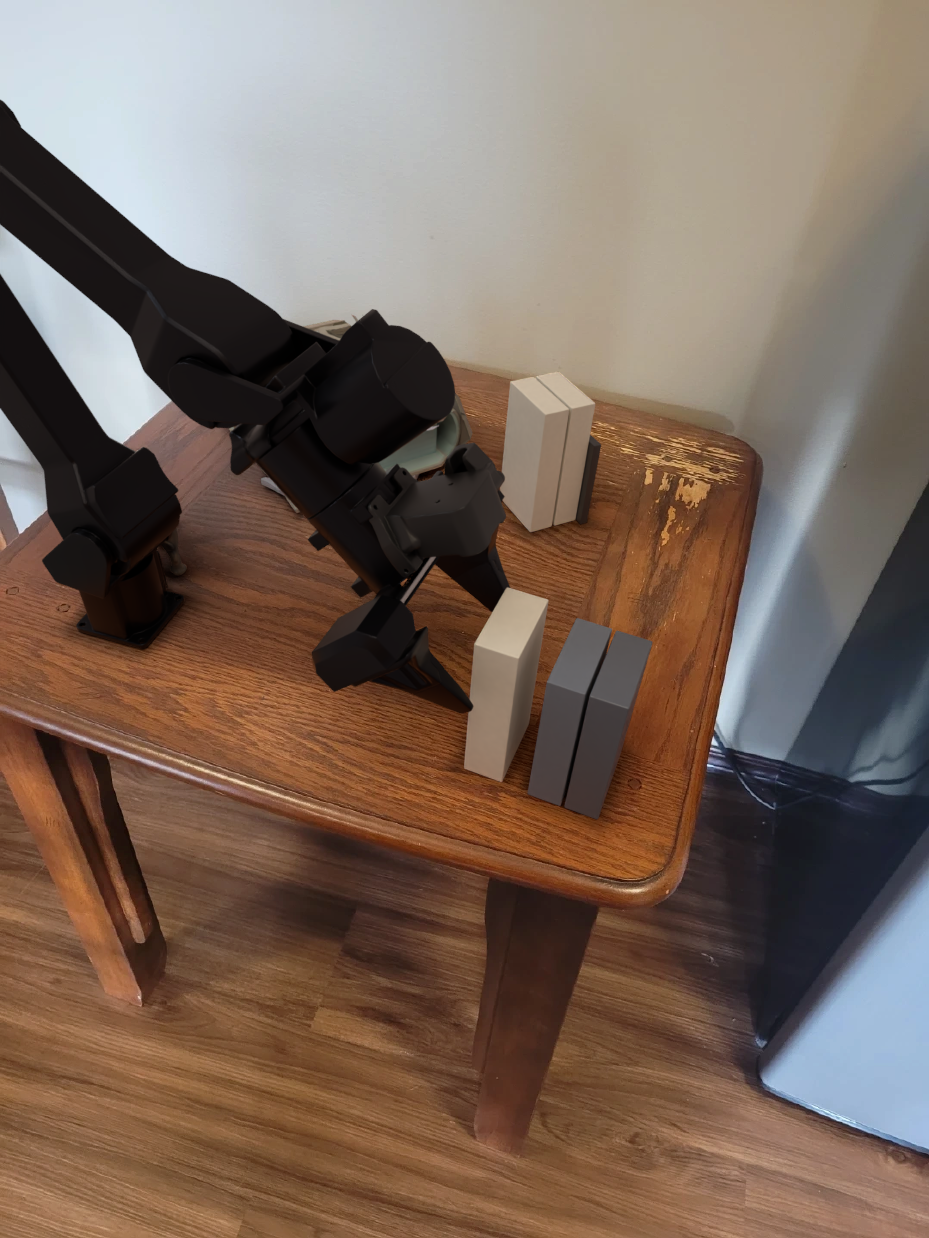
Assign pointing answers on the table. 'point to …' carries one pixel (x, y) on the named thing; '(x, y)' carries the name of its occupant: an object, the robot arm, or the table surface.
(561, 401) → the white books
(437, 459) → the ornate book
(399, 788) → the table surface
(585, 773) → the grey books
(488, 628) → the white book
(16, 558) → the table surface
